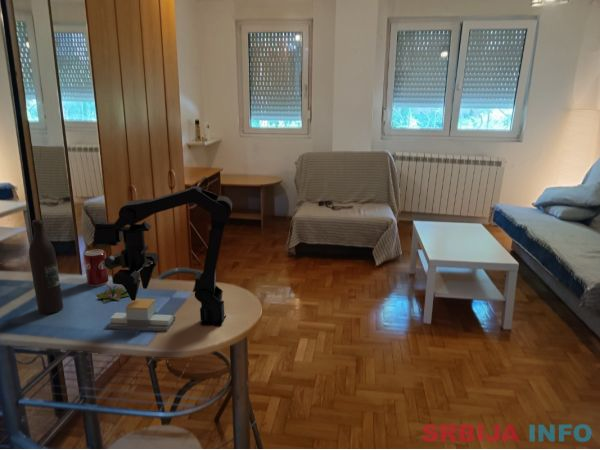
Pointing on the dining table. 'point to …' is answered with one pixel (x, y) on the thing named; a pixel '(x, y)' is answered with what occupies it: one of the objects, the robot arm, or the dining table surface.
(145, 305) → the block
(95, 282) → the soda can
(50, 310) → the wine bottle
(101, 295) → the lily flower
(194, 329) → the dining table surface
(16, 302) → the dining table surface
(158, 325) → the rail
